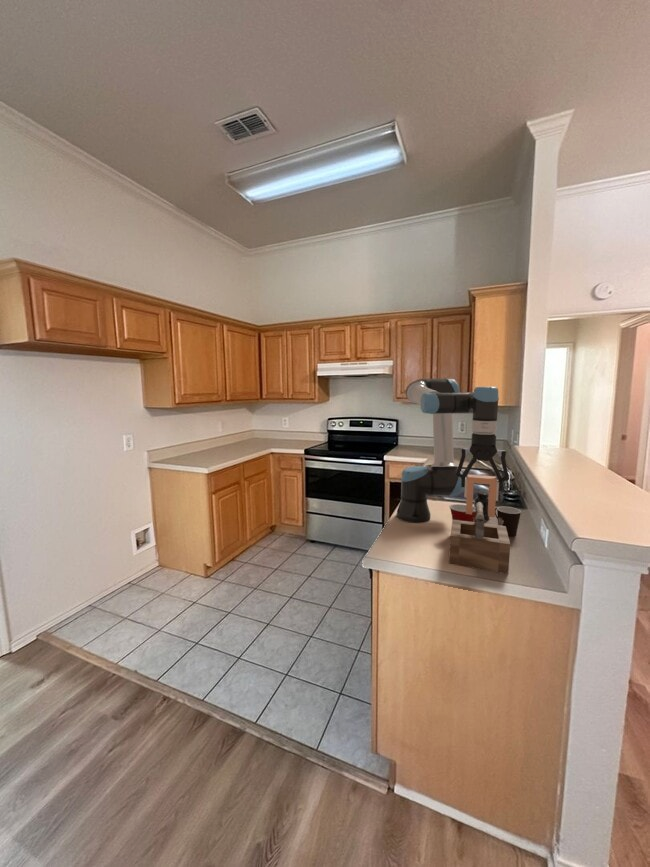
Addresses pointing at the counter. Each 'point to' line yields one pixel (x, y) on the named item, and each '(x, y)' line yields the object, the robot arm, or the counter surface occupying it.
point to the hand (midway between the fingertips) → (480, 498)
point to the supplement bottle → (483, 502)
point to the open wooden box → (479, 544)
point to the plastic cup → (462, 513)
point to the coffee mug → (508, 519)
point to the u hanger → (492, 492)
